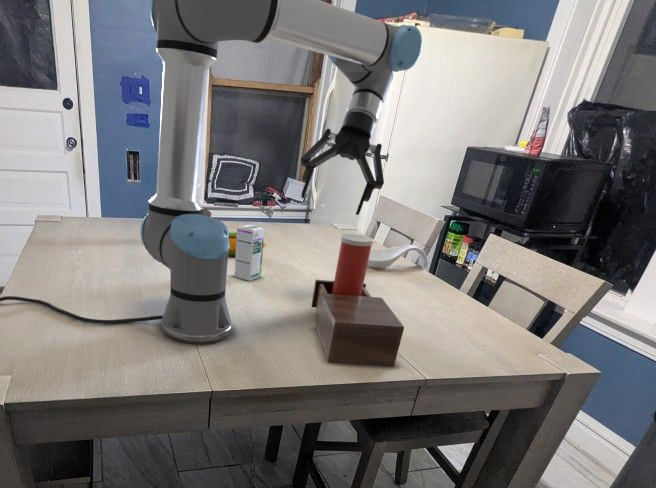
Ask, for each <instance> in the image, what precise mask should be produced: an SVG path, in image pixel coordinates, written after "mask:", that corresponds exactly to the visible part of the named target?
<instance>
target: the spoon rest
mask: <svg viewBox="0 0 656 488" xmlns="http://www.w3.org/2000/svg"><path fill="white" fill-rule="evenodd" d="M410 251H415V252H416V253H418V255H419V257H418V263H417V264H418V266H419V267H421V268H423V269H427V268H428V262H429V261H428V256H427V254H426V252H425V251H424V250H423V249H422V248H420V247H418V246H416V245H412V244H403V245H397V246H393V247H387V248H381V249H371V251H370V255H369V260H368V265H367V267H369V268H372V269H376V270H384V269H387V268H388V267H390V266H392V265H393V264H394V263H395V262H396V261H397V260H399V259H400V258H401V257H402V256H403V255H404V254H406V253H408V252H410Z"/></svg>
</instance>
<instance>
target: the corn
mask: <svg viewBox="0 0 656 488" xmlns="http://www.w3.org/2000/svg"><path fill="white" fill-rule="evenodd" d="M236 241H237V232H229V250H228V257H231V256H233V257H236ZM266 246H267V244H266V243H265V242H264V243H263V249H264V248H265V247H266Z"/></svg>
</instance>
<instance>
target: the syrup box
mask: <svg viewBox="0 0 656 488" xmlns="http://www.w3.org/2000/svg"><path fill="white" fill-rule="evenodd" d="M265 231H266V228H265V227H264V226H260V225H257V224H251V223H250V224H246V225H243V226H237V227H236V233H237V235H236V236H237V241H236V256H235V261H234V274H233V275H234V278H235V277H236V278H238V279H241V280H244V281H248V282H251V281H252V280H255V279H258V278H261V277H262V263H263V255H264V254H263V253H264V248H263V243H265V241H264V240H265Z"/></svg>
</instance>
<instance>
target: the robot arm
mask: <svg viewBox="0 0 656 488" xmlns="http://www.w3.org/2000/svg"><path fill="white" fill-rule="evenodd" d="M149 14H150V15H149V16H150V20H151V24H152V28H153V29H154V31H155V32H156V47H155V49H156V50H155V51H156V54H157V55H158V56H159V58H160V59H161V61H162V64H163V67H162V69H163V70H162V71H163V72H162V85H161V86H162V88H161V103H160V104H161V105H160V123H159V141H158V155H157V156H158V157H157V158H158V159H157V175H156V176H157V177H156V178H157V179H156V192H155V194H154V195H153V196H152V197H151V198H150V199H149V200H148V209H147V214H146V215H145V216H144V217H143V220H142V221H141V224H140V240H141V242H142V245H143V247H144V248H145V250H146V251H147V253H148V254H149V255H150V256H151V257H152V259H154V260H156V262H158V263H160V264H162V265H163V266H165V267H166V268H167V269H169V271H170V282H169V283H170V285H169V286H170V287H169V288H170V289H169V290H170V291H169V297H168V301H167V303H166V306H165V309H164V312H163V315H153V316H152V315H151V316H143V317H131V318H120V319H98V318H97V319H95V318H89V317H84V316H81V315H77V314H74V313H72V312H70V311H67V310H64V309H62V308H59V307H57V306H55V305H53V304H51V303H50V302H47V301H45V300H41V299H36V298H29V297H22V296H16V295H15V296H14V295H6V296H1V297H0V302H4V301H21V302H26V303H32V304H39V305H42V306H45V307H48V308H50V309H51V310H53V311H55V312H56V313H60V314H62V315H65V316H68V317H70V318H72V319H75V320H78V321H80V322H85V323H90V324H99V325H100V324H101V325H107V324H108V325H110V324H127V323H128V324H129V323H139V322H148V321H155V320H157V321H159V320H161V332H162V333H163V334H164V335H165V336H166V337H169V338H170V339H172V340H175V341H178V342H182V343H186V344H197V345H201V344H202V345H203V344H204V345H205V344H213V343H216V342H221V341H223V340H225V339H227V338H228V337H230V335H231V333H232V325H233V324H232V320H231V316H230V312H229V311H230V310H229V308H228V304H227V301H226V287H227V273H228V260H229V256H228V250H229V233H230V232H229V228H228V226H227V225H226V224H225V223H224V222H222V220H220V219H218V218H215V217H212V216H207V215H205V214H203V213H202V212H203V207H202V204H201V203H200V204H199V202H198V201H197V199H196V192H197V182H198V181H199V170H200V158H201V147H202V138H203V126H204V115H205V105H206V93H207V83H208V72H209V69H210V68H211V67H212V66H213V65H214V64H215V63H216V62H217V58H218V49H219V42H226V41H245V42H246V41H247V42H251V43H254V44H261V43H263V42H265V40H269V41H273V42H278V43H281V44H285V45H288V46H292V47H294V48H295V47H296V48H299V49H303V50H307V51H310V52H315V53H318V54H323V55H326V56H327V57H328V58H329V60H330V61H331V63H332V64H334V65H335V67H337V69H338V70H339V71H340V72H341V73H342V74H343V75H344V76H345V77H346V78H347V80H348V82H350V83H351V84H352V85H353V86H354V89H353V92H352V96H351V98H350V101H349V104H348V106H347V109H346V113H345V115H344V118H343V121H342V123H341V126H340V129H339V132H337V133H334V132H332V130H331V129H330V128H326V129H325V131H324V132H323V135H322V137H320V139H318V140H317V141H316V143H315V144H313V145H312V147H310V149H308V150H307V151H306V152H305V153H304V154H303V155H302V156H301V158H300V166H301V167H304V172H303V175H302V178H301V181H302V183H304V185H303V187H302V191H301V194H300V195H301V197H300V198H301V199H306V195H307V192H308V189H309V187H310V183H311V181H312V178H313V175H314V171H315V168H317V167H319V166H321V165H323V164H324V163H325V162H327V161H329V160H331V159H332V158H335V157H337V156H338V155H339V156H340V158H343V159H348V160H350V161H354V160H356V162H357V165H358V166H359V168H360V170H361V173H362V175H363V177H364V180H365V183H366V184H365V187H364V190H363V192H362V195H361V198H360V201H359V204H358V206H357V209H356V212H355V215H357V216H360V213H361V210H362V208H363V204H364V202H366V203H368V202H369V201H370V200H371V197H372V194H373V192H374V190H376V189H377V190H381V189H382V188H383V186H384V184H385V180H384V179H385V178H384V173H383V164H382V156H381V151H382V146H383V145H382V144H381V143H377V144H371V139H372V136H373V134H374V130H375V128H376V124H377V123H378V119H379V116H380V113H381V111H382V108H383V106H384V103H385V99H386V97H387V94H388V92H389V89H390V86H391V83H393V80H394V75H395V73H398V72H402V71H408V70H410V69H411V68H413V67H414V66H415V65H416V63H417V62H418V60H419V58H420V57H421V53H422V49H423V36H422V33H421V31H420V30H419V28H418V27H416V26H415V25H411V24H409V25H407V24H401V25H393V24H390V23H388V22H383V21H379V20H378V19H375V18H373V17H369V16H366V15H364V14H361V13H357V12H355V11H351V10H349V9H346V8H343V7H340V6H338V5H335V4H332V3H328V2H325V1H323V0H150V3H149ZM332 141H334V144H333V145H332V146H331V147H330V148H328V149H327V150H324V152H323V151H322V153H320V154H319V152H320V151H321V150H322V149H323V148H324V147H325V146H326V145H327V143H330V142H332ZM368 151H369V152H370V155H371V156H372V163H373V169H374V175H373V173H372V170H371V166H370V165H369V162H368V160H367V156H366V153H367V152H368ZM317 154H319V155H317ZM316 155H317V156H316ZM374 176H375V177H374Z"/></svg>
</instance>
